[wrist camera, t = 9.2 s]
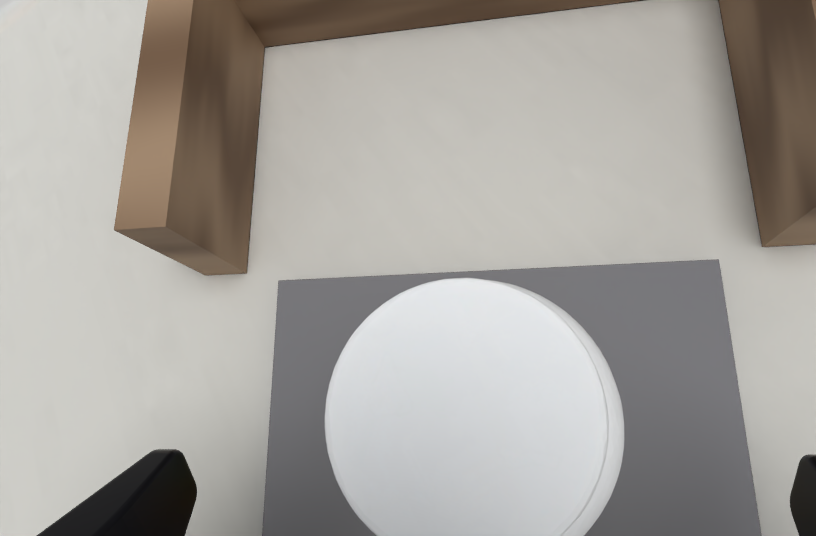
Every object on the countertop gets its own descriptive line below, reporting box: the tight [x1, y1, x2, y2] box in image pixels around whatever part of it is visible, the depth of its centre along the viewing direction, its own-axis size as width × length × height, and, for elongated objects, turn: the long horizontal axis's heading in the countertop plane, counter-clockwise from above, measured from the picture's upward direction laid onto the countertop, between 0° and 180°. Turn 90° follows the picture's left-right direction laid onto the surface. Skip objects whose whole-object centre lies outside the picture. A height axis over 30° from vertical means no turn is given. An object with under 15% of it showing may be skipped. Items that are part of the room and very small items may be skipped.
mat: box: [262, 259, 761, 536], centre depth 17 cm, size 12×14×1 cm
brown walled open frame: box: [114, 0, 816, 275], centre depth 18 cm, size 11×20×6 cm, turn 90°
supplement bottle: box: [325, 278, 624, 536], centre depth 12 cm, size 5×5×10 cm
